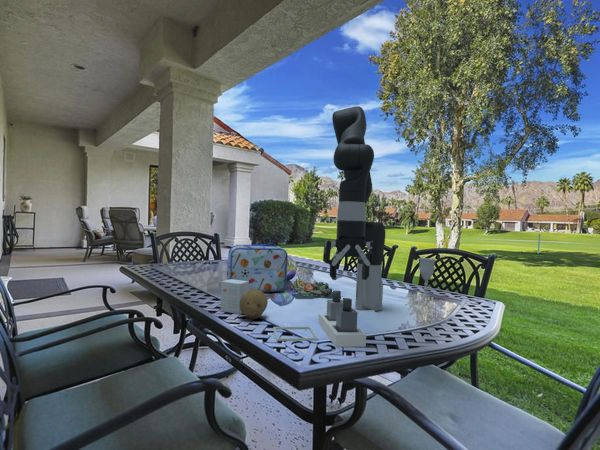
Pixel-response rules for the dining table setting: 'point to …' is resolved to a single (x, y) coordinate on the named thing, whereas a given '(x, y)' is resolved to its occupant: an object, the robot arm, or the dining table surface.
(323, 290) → the plated dish
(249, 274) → the lunch box
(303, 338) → the tray
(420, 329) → the dining table surface
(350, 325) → the plug
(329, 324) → the cream socket block
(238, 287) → the small box
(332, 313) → the seated twin plug
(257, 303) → the natural sponge
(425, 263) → the chalice
